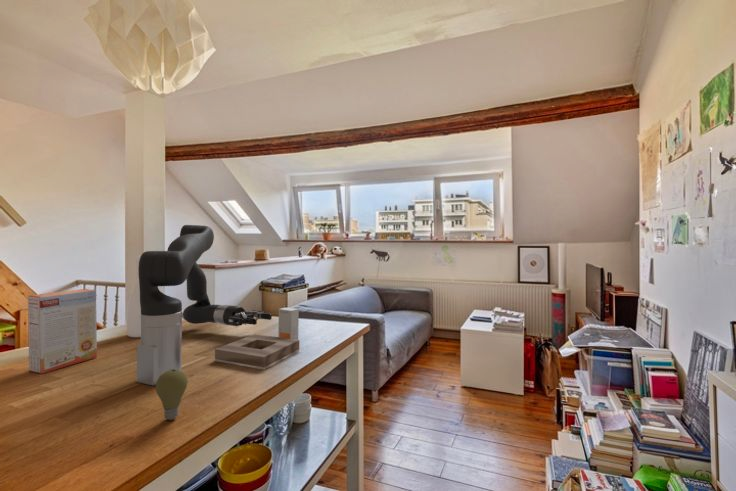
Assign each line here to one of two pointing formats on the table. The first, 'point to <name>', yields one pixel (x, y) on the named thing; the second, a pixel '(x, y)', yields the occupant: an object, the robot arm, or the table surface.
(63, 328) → the cracker box
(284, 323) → the skincare box
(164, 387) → the light bulb
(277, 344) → the walnut stand
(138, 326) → the wine bottle
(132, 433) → the table surface
